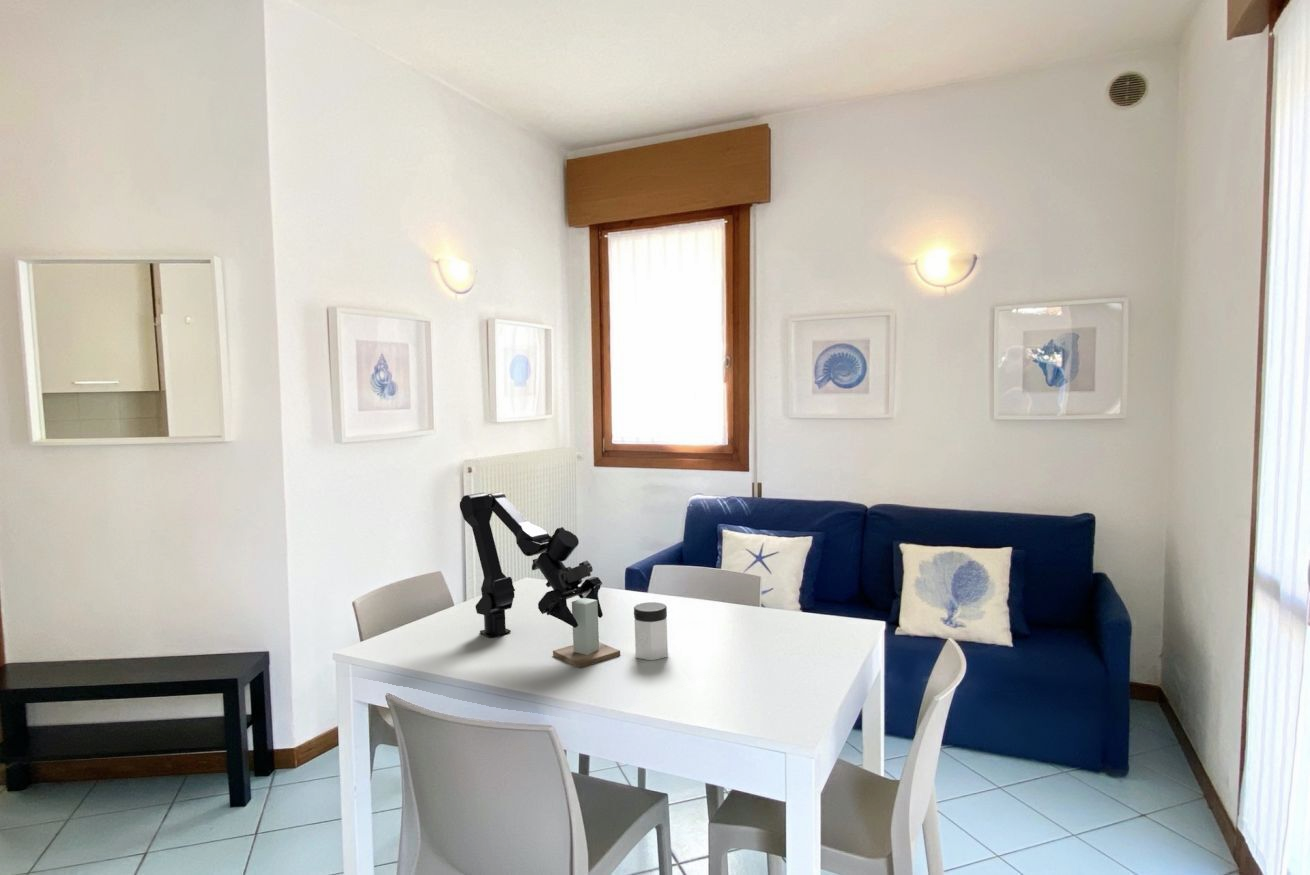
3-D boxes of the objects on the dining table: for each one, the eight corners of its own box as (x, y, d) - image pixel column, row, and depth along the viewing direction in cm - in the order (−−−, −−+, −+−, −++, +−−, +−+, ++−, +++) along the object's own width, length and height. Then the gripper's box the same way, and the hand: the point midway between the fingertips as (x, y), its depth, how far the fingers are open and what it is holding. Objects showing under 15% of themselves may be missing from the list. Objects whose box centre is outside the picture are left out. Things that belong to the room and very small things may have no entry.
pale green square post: (573, 651, 174) (571, 601, 174) (585, 646, 178) (583, 597, 177) (587, 655, 171) (585, 604, 171) (599, 649, 175) (597, 600, 175)
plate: (553, 655, 175) (552, 650, 175) (592, 643, 183) (592, 639, 183) (580, 668, 166) (579, 663, 166) (620, 655, 174) (620, 650, 174)
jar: (627, 657, 173) (626, 608, 172) (644, 646, 180) (642, 600, 179) (659, 662, 168) (657, 613, 168) (675, 651, 175) (673, 604, 175)
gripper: (544, 559, 168) (580, 611, 162) (595, 545, 183) (630, 593, 177) (522, 587, 173) (557, 639, 167) (574, 572, 188) (607, 619, 182)
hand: (589, 621), depth 173 cm, fingers open, 9 cm apart
